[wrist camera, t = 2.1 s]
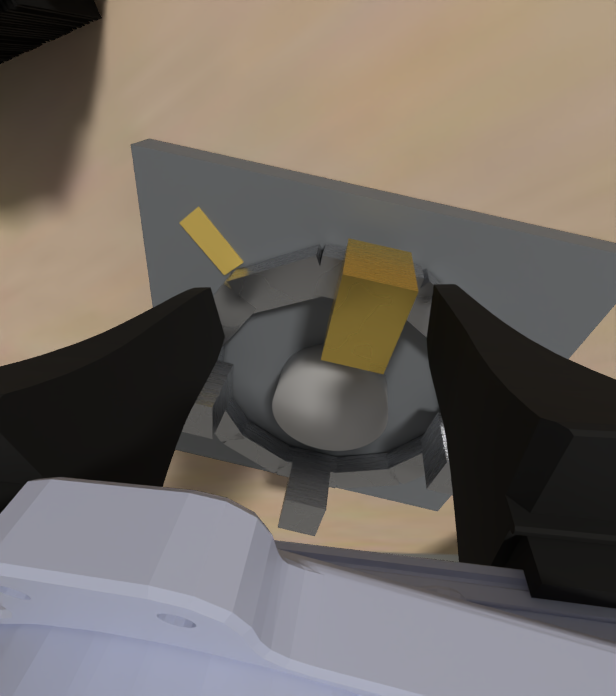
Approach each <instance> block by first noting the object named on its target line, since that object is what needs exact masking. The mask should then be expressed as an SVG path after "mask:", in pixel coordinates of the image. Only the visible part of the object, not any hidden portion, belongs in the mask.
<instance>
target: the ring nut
mask: <svg viewBox="0 0 616 696" xmlns="http://www.w3.org/2000/svg"><path fill="white" fill-rule="evenodd" d="M434 284H442V283H441V282H440V281H439V280H438V279H437V278H436V277H435V276H434V275H433V274H432V273H431V272H430V271H429V270H428V269H427V268H426V269H424V270H423V271H422V266H421V265H418V264H414V263H413V259H412V253H411V252H408V251H403V250H399V249H394V248H390V247H386V246H381V245H377V244H372V243H368V242H363V241H359V240H355V239H350V238H349V239H348V243H347V247H346V248H343V247H338V246H334V245H330V244H325V248H324V251H323V252H322V249H321V246H320V244H317V245H314V246H311V247H307V248H304V249H301V250H297V251H294V252H291V253H287V254H284V255H281V256H277V257H274V258H271V259H267V260H264V261H261V262H257V263H254V264H251V265H247V266H244V267H241V268H237V269H236V270H235V271H234V272H231V274H230V275H229V276H228V278H227V279H226V280H225V281H224V283H223V284H222V285H221V287H220V288H219V289H218V291H217V292H216V293H215V294H214V296H213V297H214V300H215V304H216V307H217V310H218V314H219V317H220V321H221V324H222V328H223V331H224V334H225V339H224V342H223V345H222V348H221V351H220V354H219V357H218V360H217V362H216V364H215V366H214V368H213V370H212V372H211V373H210V375H209V377H208V379H207V381H206V383H205V385H204V387H203V389H202V391H201V392H200V394H199V396H198V398H197V400H196V402H195V404H194V406H193V407H192V409H191V411H190V413H189V416H188V418H187V420H186V422H185V425H184V427H183V430H182V432H185V433H189V434H193V435H197V436H202V437H206V438H210V439H213V437H214V435H216V436H217V437H218V439H219V440H220V441H221V442H222V441H224V444H225V445H226V446H228V447H230V448H231V449H233V450H235V451H237V452H238V453H240V454H242V455H243V456H245V457H247V458H248V459H250V460H252V461H254V462H255V463H257V464H259V465H260V466H262V467H264V468H265V469H267V470H269V471H271V472H272V473H275V472H276V471H277V475H281V476H285V477H289V478H288V482H287V487H286V491H285V496H284V501H283V505H282V510H281V514H280V519H279V524H278V528H282V529H287V530H291V531H295V532H299V533H303V534H308V535H312V536H315V534H316V532H317V530H318V527H319V525H320V523H321V520H322V518H323V515H324V513H325V511H326V505H327V497H328V488H329V487H332V488H335V487H336V485H337V486H338V488H339V489H340V488H358V487H376V486H394V485H399V482H400V483H402V484H405V483H408V482H410V481H412V480H415V479H417V478H420V477H422V476H424V475H425V480H426V489H427V490H432V491H436V492H440V493H444V494H449V495H453V491H452V482H451V473H450V465H449V457H448V449H447V442H446V435H445V430H444V425H443V420H442V416H441V412H437V414H436V416H435V417H434V419H433V420H432V422H431V424H430V425H429V427H428V428H427V430H426V432H425V433H424V435H422V436H420V437H418V438H416V439H414V440H412V441H410V442H408V443H406V444H404V445H402V446H400V447H398V448H396V449H394V450H392V451H390V452H388V453H380V454H368V455H357V456H345V457H334V456H330V455H326V454H322V453H317V452H313V451H309V450H305V449H300V448H296V447H292V446H288V445H287V444H285V443H283V442H282V441H280V440H279V439H277V438H276V437H274V436H272V435H271V434H269V433H268V432H266V431H264V430H263V429H261V428H260V427H258V426H256V425H255V424H253V423H252V422H250V421H248V419H247V418H246V416H245V415H244V413H243V412H242V410H241V409H240V407H239V406H238V404H237V403H236V401H235V400H234V398H233V397H232V383H233V364H230V363H226V362H224V344H225V343H226V342H227V341H228V340H229V339H230V338H231V337H232V336H233V335H234V333H235V332H236V331H237V330H238V329H239V328H240V327H241V326H242V325H243V324H244V322H245V321H246V320H247V319H248V318H249V317H250V316H251V315H252V314H253V313H257V312H261V311H265V310H269V309H273V308H277V307H281V306H285V305H289V304H294V303H298V302H302V301H306V300H310V299H314V298H318V297H322V296H323V297H327V298H331V299H333V303H332V307H331V311H330V315H329V320H328V325H327V330H326V335H325V340H324V345H323V351H322V356H321V360H323V361H328V362H332V363H336V364H341V365H345V366H349V367H354V368H358V369H362V370H367V371H371V372H375V373H380V374H384V372H385V370H386V367H387V365H388V362H389V360H390V358H391V355H392V353H393V351H394V348H395V346H396V344H397V341H398V339H399V337H400V334H401V332H402V330H403V327H404V325H405V322H406V320H407V321H408V322H410V323H411V324H412V325H413V326H414V327H415V328H416V329H417V330H419V331H420V332H421V333H422V334H423V335H424V336H425V337H426V338H427V331H428V324H429V316H430V309H431V301H432V294H433V287H434Z"/></svg>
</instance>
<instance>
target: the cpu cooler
mask: <svg viewBox="0 0 616 696" xmlns="http://www.w3.org/2000/svg"><path fill="white" fill-rule="evenodd" d="M101 18H102V17H101V15H100V13H99V11H98V9H97V7H96V5H95V3H94V1H93V0H0V64H2V63H4V62H3V61H9V60H11V59H12V58H11V57H15V56H19V55H18V54H21V53H24V52H28V51H29V50H33V48H37V47H39V46H40V45H42V43H46V42H45V41H49V42H50V40H55V38H59V36H60V37H61V36H63V35H66V34H67V33H70V31H73V30H72V29H77V28H76V27H78V28H81V27H82V25H83V26H85V25H84V24H90V22H89V21H92V22H94V21H93V20H95V21H96V20H98V19H101ZM23 51H24V52H23Z"/></svg>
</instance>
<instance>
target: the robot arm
mask: <svg viewBox="0 0 616 696" xmlns="http://www.w3.org/2000/svg"><path fill="white" fill-rule="evenodd" d="M224 339H225V334H224V331H223V328H222V324H221V321H220V317H219V314H218V310H217V307H216V304H215V300H214V297H213V293H212V290H211V287H197V288H191V289H189V290H186V291H184V292H182V293H180V294H178V295H176V296H174V297H172V298H170V299H168V300H166V301H164V302H163V303H161V304H159V305H157V306H155V307H153V308H152V309H150V310H148V311H146V312H144V313H142V314H140V315H138V316H136V317H134V318H132V319H130V320H128V321H126V322H124V323H122V324H120V325H118V326H116V327H114V328H112V329H110V330H108V331H106V332H103V333H101V334H99V335H96V336H94V337H91V338H89V339H86V340H84V341H81V342H79V343H76V344H73V345H70V346H67V347H64V348H61V349H59V350H56V351H53V352H50V353H47V354H44V355H41V356H37V357H34V358H30V359H27V360H23V361H20V362H16V363H12V364H8V365H4V366H0V696H616V379H613V378H611V377H608V376H606V375H603V374H601V373H598V372H596V371H593V370H591V369H589V368H586V367H584V366H582V365H580V364H578V363H575V362H573V361H571V360H569V359H566V358H564V357H562V356H560V355H558V354H556V353H554V352H552V351H551V350H549V349H547V348H545V347H543V346H541V345H540V344H538V343H536V342H534V341H532V340H531V339H529V338H527V337H526V336H524V335H522V334H521V333H519V332H518V331H516V330H515V329H513V328H512V327H510V326H509V325H507V324H506V323H504V322H503V321H502V320H500V319H499V318H498V317H496V316H495V315H493V314H492V313H491V312H490V311H488V310H487V309H486V308H484V307H483V306H482V305H481V304H479V303H478V302H477V301H476V300H475V299H473V298H472V297H471V296H470V295H469V294H467V293H466V292H465V291H464V290H462V289H461V288H460V287H459V286H457V285H456V284H434V287H433V294H432V301H431V309H430V316H429V324H428V331H427V338H426V341H427V352H428V361H429V368H430V372H431V376H432V380H433V384H434V389H435V393H436V397H437V400H438V404H439V408H440V412H441V416H442V420H443V425H444V430H445V435H446V442H447V449H448V457H449V465H450V473H451V482H452V491H453V500H454V510H455V521H456V531H457V542H458V555H459V562H452V561H444V560H436V559H426V558H418V557H410V556H402V555H393V554H385V553H377V552H369V551H360V550H352V549H343V548H335V547H327V546H318V545H310V544H302V543H293V542H285V541H277V540H274V539H273V536H272V534H271V533H270V531H269V530H268V528H267V527H266V526H265V524H264V523H263V522H262V521H261V520H260V518H259V517H258V516H257V515H256V514H255V512H253V511H251V510H249V509H247V508H245V507H244V506H242V505H240V504H238V503H236V502H234V501H232V500H230V499H229V498H226V497H222V496H218V495H213V494H209V493H205V492H201V491H196V490H188V489H178V488H168V487H163V484H164V481H165V477H166V474H167V471H168V468H169V465H170V462H171V459H172V457H173V454H174V451H175V448H176V445H177V443H178V440H179V437H180V435H181V432H182V430H183V427H184V425H185V422H186V420H187V418H188V416H189V413H190V411H191V409H192V407H193V406H194V404H195V402H196V400H197V398H198V396H199V394H200V392H201V391H202V389H203V387H204V385H205V383H206V381H207V379H208V377H209V375H210V373H211V372H212V370H213V368H214V366H215V364H216V362H217V360H218V357H219V354H220V351H221V348H222V345H223V342H224Z"/></svg>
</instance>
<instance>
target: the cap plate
mask: <svg viewBox="0 0 616 696" xmlns="http://www.w3.org/2000/svg"><path fill="white" fill-rule="evenodd" d="M131 150H132V157H133V164H134V172H135V179H136V187H137V194H138V201H139V209H140V216H141V223H142V231H143V238H144V246H145V253H146V260H147V268H148V275H149V282H150V290H151V297H152V305H153V307H155V306H157V305H159V304H161V303H163V302H164V301H166V300H168V299H170V298H172V297H174V296H176V295H178V294H180V293H182V292H184V291H186V290H189V289H191V288H197V287H211V290H212V293H213V296H214V294H215V293H216V292H217V291H218V289H219V288H220V287H221V285H222V284H223V283H224V281H225V280H226V279H227V278H228V276H229V275H230V274H231V272H234V271H235V270H236V269H237V268H241V267H244V266H247V265H251V264H254V263H257V262H261V261H264V260H267V259H271V258H274V257H277V256H281V255H284V254H287V253H291V252H294V251H297V250H301V249H304V248H307V247H311V246H314V245H317V244H320V246H321V249H322V252H323V251H324V248H325V244H330V245H334V246H338V247H343V248H346V247H347V243H348V239H349V238H350V239H355V240H359V241H363V242H368V243H372V244H377V245H381V246H386V247H390V248H394V249H399V250H403V251H408V252H411V253H412V259H413V263H414V264H418V265H421V266H422V271H423V270H424V269H426V268H427V269H428V270H429V271H430V272H431V273H432V274H433V275H434V276H435V277H436V278H437V279H438V280H439V281H440V282H441V283H442V284H456V285H457V286H459V287H460V288H461V289H462V290H464V291H465V292H466V293H467V294H469V295H470V296H471V297H472V298H473V299H475V300H476V301H477V302H478V303H479V304H481V305H482V306H483V307H484V308H486V309H487V310H488V311H490V312H491V313H492V314H493V315H495V316H496V317H498V318H499V319H500V320H502V321H503V322H504V323H506V324H507V325H509V326H510V327H512V328H513V329H515V330H516V331H518V332H519V333H521V334H522V335H524V336H526V337H527V338H529V339H531V340H532V341H534V342H536V343H538V344H540V345H541V346H543V347H545V348H547V349H549V350H551V351H552V352H554V353H556V354H558V355H560V356H562V357H564V358H566V359H569V358H570V357H571V355H572V354H573V353H574V352H575V351H576V350H577V348H578V347H579V346H580V345H581V344H582V343H583V341H584V340H585V339H586V338H587V337H588V336H589V334H590V333H591V332H592V331H593V330H594V329H595V327H596V326H597V325H598V324H599V323H600V322H601V321H602V319H603V318H604V317H605V316H606V315H607V314H608V312H609V311H610V310H611V309H612V308H613V307H614V305H615V304H616V243H613V242H609V241H604V240H600V239H595V238H591V237H586V236H582V235H577V234H573V233H568V232H564V231H559V230H555V229H551V228H546V227H542V226H537V225H533V224H528V223H524V222H519V221H515V220H510V219H506V218H501V217H497V216H492V215H488V214H484V213H479V212H475V211H470V210H466V209H461V208H457V207H452V206H448V205H443V204H439V203H434V202H430V201H425V200H421V199H417V198H412V197H408V196H403V195H399V194H394V193H390V192H385V191H381V190H376V189H372V188H367V187H363V186H358V185H354V184H350V183H345V182H341V181H336V180H332V179H327V178H323V177H318V176H314V175H309V174H305V173H300V172H296V171H291V170H287V169H283V168H278V167H274V166H269V165H265V164H260V163H256V162H251V161H247V160H242V159H238V158H233V157H229V156H224V155H220V154H216V153H211V152H207V151H202V150H198V149H193V148H189V147H184V146H180V145H175V144H171V143H166V142H162V141H157V140H153V139H147V140H144V141H140V142H137V143H134V144H131ZM332 303H333V299H331V298H327V297H323V296H322V297H318V298H314V299H310V300H306V301H302V302H298V303H294V304H289V305H285V306H281V307H277V308H273V309H269V310H265V311H261V312H257V313H253V314H252V315H251V316H250V317H249V318H248V319H247V320H246V321H245V322H244V324H243V325H242V326H241V327H240V328H239V329H238V330H237V331H236V332H235V333H234V335H233V336H232V337H231V338H230V339H229V340H228V341H227V342H226V343H225V344H224V362H226V363H230V364H233V383H232V397H233V398H234V400H235V401H236V403H237V404H238V406H239V407H240V409H241V410H242V412H243V413H244V415H245V416H246V418H247V419H248V421H250V422H252V423H253V424H255V425H256V426H258V427H260V428H261V429H263V430H264V431H266V432H268V433H269V434H271V435H272V436H274V437H276V438H277V439H279V440H280V441H282V442H283V443H285V444H287V445H288V446H292V447H296V448H300V449H305V450H309V451H313V452H317V453H322V454H326V455H330V456H334V457H345V456H357V455H368V454H380V453H388V452H390V451H392V450H394V449H396V448H398V447H400V446H402V445H404V444H406V443H408V442H410V441H412V440H414V439H416V438H418V437H420V436H422V435H424V433H425V432H426V430H427V428H428V427H429V425H430V424H431V422H432V420H433V419H434V417H435V416H436V414H437V412H440V408H439V404H438V400H437V397H436V393H435V389H434V384H433V380H432V376H431V372H430V368H429V361H428V352H427V341H426V337H425V336H424V335H423V334H422V333H421V332H420V331H419V330H417V329H416V328H415V327H414V326H413V325H412V324H411V323H410V322H408V321H407V320H406V322H405V325H404V327H403V330H402V332H401V334H400V337H399V339H398V341H397V344H396V346H395V348H394V351H393V353H392V355H391V358H390V360H389V362H388V365H387V367H386V370H385V372H384V374H380V373H375V372H371V371H367V370H362V369H358V368H354V367H349V366H345V365H341V364H336V363H332V362H328V361H323V360H321V356H322V351H323V345H324V340H325V335H326V330H327V325H328V320H329V315H330V311H331V307H332ZM175 450H179V451H184V452H188V453H192V454H196V455H201V456H205V457H209V458H213V459H218V460H222V461H226V462H230V463H235V464H239V465H243V466H247V467H252V468H256V469H260V470H264V471H269V470H267V469H265V468H264V467H262V466H260V465H259V464H257V463H255V462H254V461H252V460H250V459H248V458H247V457H245V456H243V455H242V454H240V453H238V452H237V451H235V450H233V449H231V448H230V447H228V446H226V445H225V444H224V441H222V442H221V441H220V440H219V439H218V437H217V436H216V435H214V437H213V439H210V438H206V437H202V436H197V435H193V434H189V433H185V432H181V435H180V437H179V440H178V443H177V445H176V448H175ZM269 472H271V471H269ZM275 473H277V471H276V472H275ZM336 487H337V488H338V486H337V485H336ZM341 489H345V490H349V491H353V492H358V493H362V494H366V495H370V496H375V497H379V498H383V499H387V500H392V501H396V502H400V503H404V504H409V505H413V506H417V507H421V508H426V509H430V510H434V511H438V510H439V509H440V508H441V507H442V505H443V504H444V503H445V502H446V501H447V500H448V499H449V497H450V496H451V495H449V494H444V493H440V492H436V491H432V490H427V489H426V480H425V475H424V476H422V477H420V478H417V479H415V480H412V481H410V482H408V483H405V484H402V483H400V482H399V485H394V486H376V487H358V488H341Z"/></svg>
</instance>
